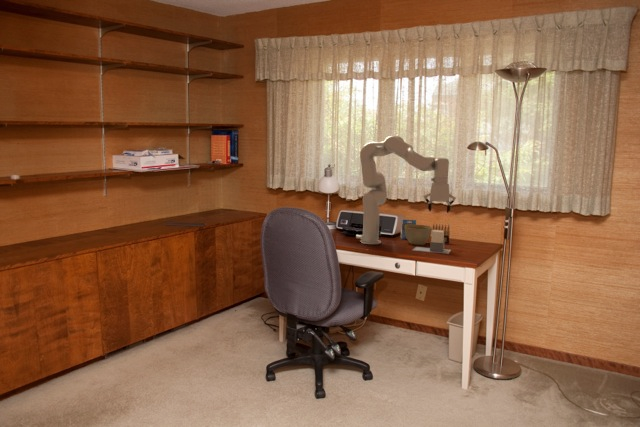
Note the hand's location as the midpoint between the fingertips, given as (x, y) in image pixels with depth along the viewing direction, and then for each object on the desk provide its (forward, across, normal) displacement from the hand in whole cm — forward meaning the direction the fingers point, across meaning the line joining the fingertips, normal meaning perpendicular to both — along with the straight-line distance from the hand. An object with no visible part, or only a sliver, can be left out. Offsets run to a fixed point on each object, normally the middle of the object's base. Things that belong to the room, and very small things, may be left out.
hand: (438, 211), depth 313 cm
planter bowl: (+23, -14, +18) cm, 32 cm away
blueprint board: (+23, -3, 0) cm, 23 cm away
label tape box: (+23, -23, +36) cm, 48 cm away
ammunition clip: (+23, -2, +29) cm, 37 cm away
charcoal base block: (+22, 0, 0) cm, 22 cm away
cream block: (+17, 0, 0) cm, 17 cm away
